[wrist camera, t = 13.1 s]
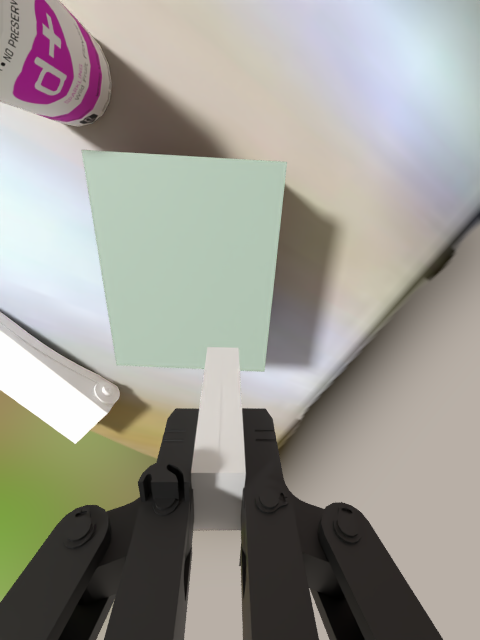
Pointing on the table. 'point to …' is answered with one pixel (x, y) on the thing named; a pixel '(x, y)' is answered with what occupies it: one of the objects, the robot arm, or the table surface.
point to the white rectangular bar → (52, 383)
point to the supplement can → (51, 63)
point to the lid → (186, 254)
